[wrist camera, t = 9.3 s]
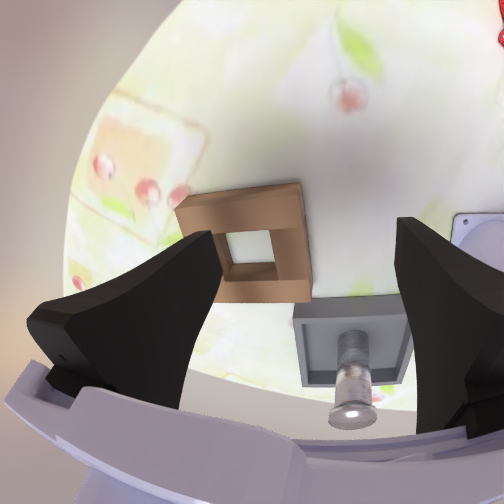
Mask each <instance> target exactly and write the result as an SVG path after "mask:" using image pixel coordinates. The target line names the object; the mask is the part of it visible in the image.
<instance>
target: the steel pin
mask: <svg viewBox="0 0 504 504" xmlns="http://www.w3.org/2000/svg"><path fill="white" fill-rule="evenodd" d="M376 419H377V410H376V407H375V406H373V405H372V389H371V365H370V349H369V337H368V335H367V334H366V333H365V332H363V331H361V330H349V331H346V332H344V333H342V334H341V335H340V336H339V337H338V341H337V372H336V391H335V407H334V408H332V409H331V410H330V412H329V421H328V422H329V424H330V425H331V426H333V427H334V428H338V429H343V430H354V429H361V428H365V427H367V426H370V425H372V424H373V423H374V422H375V421H376Z"/></svg>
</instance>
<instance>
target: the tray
mask: <svg viewBox="0 0 504 504" xmlns="http://www.w3.org/2000/svg"><path fill="white" fill-rule="evenodd" d="M292 319H293V326H294V332H295V339H296V346H297V353H298V360H299V367H300V374H301V381H302V387H336V372H337V341H338V337H339V336H340V335H341V334H342V333H344V332H346V331H349V330H361V331H363V332H365V333H366V334H367V335H368V337H369V349H370V365H371V386H379V385H393V384H401V383H402V380H403V378H404V375H405V372H406V369H407V366H408V363H409V360H410V357H411V354H412V351H413V348H414V344H413V339H412V334H411V330H410V326H409V322H408V318H407V315H406V311H405V308H404V304H403V301H402V298H401V294H396V295H380V296H361V297H339V298H311V302H304V303H295V306H294V312H293V318H292Z"/></svg>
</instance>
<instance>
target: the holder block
mask: <svg viewBox="0 0 504 504" xmlns="http://www.w3.org/2000/svg"><path fill="white" fill-rule="evenodd" d="M174 211H175V214H176V217H177V220H178V223H179V226H180V229H181V232H182V235H183V237H184V238H185V237H186V236H188V235H190V234H192V233H194V232H197V231H205V230H211V233H212V236H213V239H214V243H215V246H216V249H217V253H218V256H219V259H220V262H221V266H222V269H223V275H222V279H221V282H220V286H219V289H218V292H217V295H216V297H215V299H214V301H213V303H304V302H311V297H312V286H313V280H312V270H311V260H310V251H309V242H308V234H307V226H306V218H305V210H304V202H303V195H302V188H301V183H290V184H280V185H270V186H261V187H252V188H243V189H235V190H228V191H220V192H213V193H206V194H199V195H192V196H187V197H186V198H185V199H184V200H183V201H182V202H181V203H180V204H179V205H178V206H177V207H176V208H175V209H174ZM256 230H269V232H270V237H271V243H272V248H273V253H274V258H275V262H270V263H246V264H233V262H232V258H231V254H230V251H229V247H228V244H227V240H226V236H225V233H230V232H243V231H256Z"/></svg>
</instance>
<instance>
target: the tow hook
mask: <svg viewBox="0 0 504 504" xmlns="http://www.w3.org/2000/svg"><path fill="white" fill-rule="evenodd" d="M500 5H501V11H502V14H503V18H504V0H500ZM499 41H500V42H501V43H502V44H503V45H504V30H503V31H502V32H501V33H500V35H499Z"/></svg>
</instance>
